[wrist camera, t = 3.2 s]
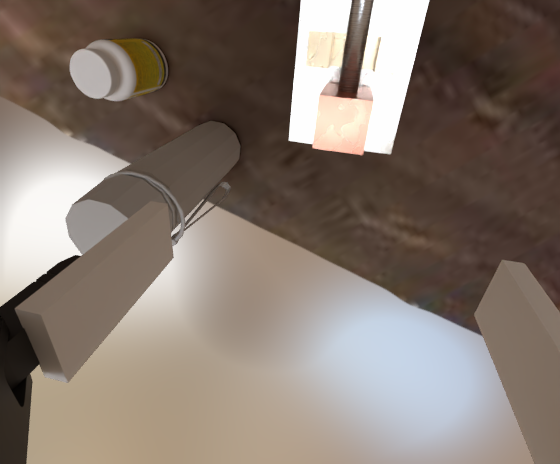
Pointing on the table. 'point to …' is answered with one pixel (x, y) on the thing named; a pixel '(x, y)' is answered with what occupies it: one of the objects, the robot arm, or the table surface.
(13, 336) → the robot arm
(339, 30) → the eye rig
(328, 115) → the mallet
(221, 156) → the water bottle
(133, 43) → the pill bottle
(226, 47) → the table surface
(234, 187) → the table surface
